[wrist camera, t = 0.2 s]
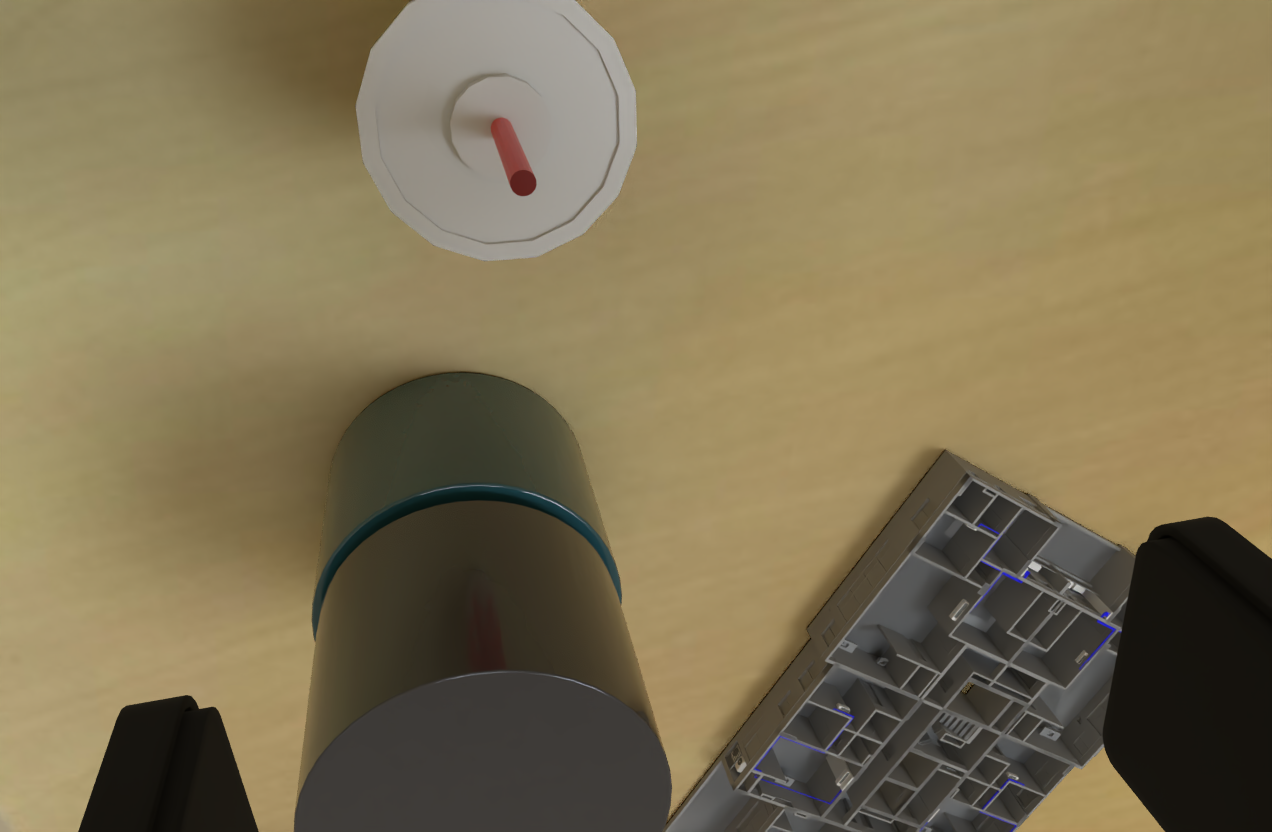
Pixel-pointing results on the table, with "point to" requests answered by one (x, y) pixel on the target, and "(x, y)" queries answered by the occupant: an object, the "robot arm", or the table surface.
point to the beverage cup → (497, 123)
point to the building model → (935, 676)
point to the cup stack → (472, 630)
